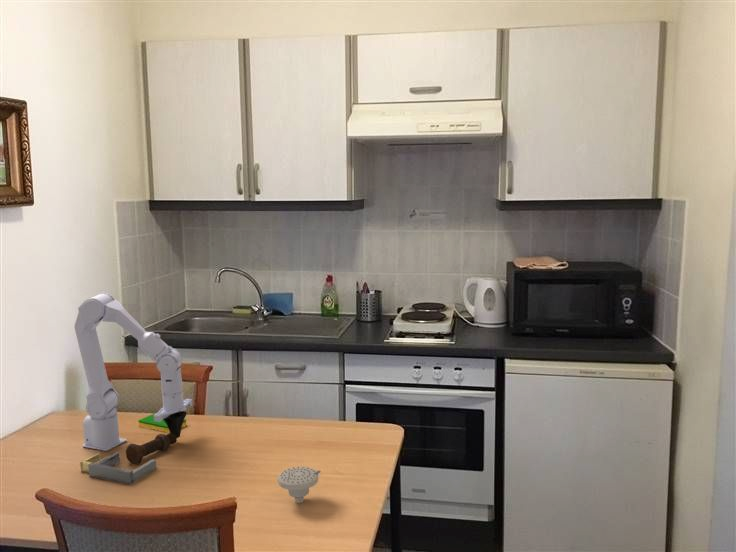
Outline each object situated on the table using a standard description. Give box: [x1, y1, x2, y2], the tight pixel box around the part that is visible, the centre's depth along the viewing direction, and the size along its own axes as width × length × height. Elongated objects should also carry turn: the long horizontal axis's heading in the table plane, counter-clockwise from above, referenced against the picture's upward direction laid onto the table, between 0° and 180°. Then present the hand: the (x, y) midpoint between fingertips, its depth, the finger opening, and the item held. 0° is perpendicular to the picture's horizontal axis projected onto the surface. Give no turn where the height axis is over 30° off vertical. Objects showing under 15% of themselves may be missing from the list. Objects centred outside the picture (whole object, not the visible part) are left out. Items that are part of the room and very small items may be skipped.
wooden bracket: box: [79, 452, 111, 473], centre depth 175 cm, size 5×6×2 cm
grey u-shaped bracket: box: [88, 452, 157, 486], centre depth 171 cm, size 14×10×3 cm
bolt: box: [125, 433, 178, 466], centre depth 182 cm, size 6×5×15 cm
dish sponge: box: [137, 412, 187, 434], centre depth 204 cm, size 7×14×2 cm, turn 62°
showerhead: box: [277, 466, 322, 504], centre depth 153 cm, size 9×7×10 cm
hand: (175, 437), depth 190 cm, fingers closed
